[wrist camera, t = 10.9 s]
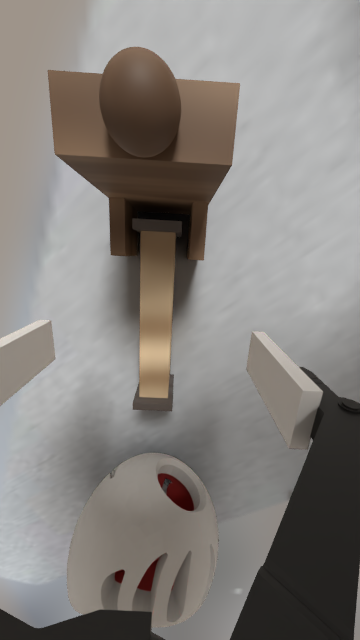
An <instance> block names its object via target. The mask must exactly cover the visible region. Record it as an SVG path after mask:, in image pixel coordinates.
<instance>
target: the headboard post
mask: <svg viewBox="0 0 360 640" xmlns="http://www.w3.org/2000/svg"><path fill="white" fill-rule="evenodd" d="M48 79H49V90H50V103H51V115H52V127H53V139H54V151H55V155H56V156H58V157H59V158H60V159H61V160H63V161H64V162H65V163H66V164H68V165H69V166H70V167H71V168H73V169H74V170H75V171H76V172H77V173H79V174H80V175H81V176H82V177H84V178H85V179H86V180H87V181H89V182H90V183H91V184H92V185H94V186H95V187H96V188H97V189H98V190H100V191H101V192H102V193H103V194H105V195H106V196H107V197H108V198H109V213H110V248H111V255H115V256H138V232H137V231H135V230H133V229H132V218H135V219H138V212H152V213H169V214H186V215H190V217H189V233H188V250H187V259H189V260H204V250H205V237H206V224H207V211H208V205H209V203H210V201H211V200H212V198H213V196H214V194H215V193H216V191H217V189H218V188H219V186H220V184H221V183H222V181H223V179H224V178H225V176H226V174H227V173H228V171H229V169H230V167H231V166H232V159H233V149H234V139H235V129H236V119H237V109H238V99H239V89H240V83H227V82H212V81H198V80H183V79H175V77H174V75H173V73H172V72H171V70H170V68H169V67H168V65H167V64H166V63H165V62H164V60H162V59H161V58H160V57H159V56H158V55H157V54H155V53H154V52H152V51H150V50H148V49H145V48H141V47H130V48H126V49H123V50H121V51H120V52H118V53H117V54H116V55H114V56H113V57H112V59H111V60H110V61H109V62H108V64H107V66H106V67H105V69H104V72H103V74H97V73H82V72H68V71H67V72H66V71H54V70H48Z"/></svg>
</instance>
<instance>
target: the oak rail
mask: <svg viewBox="0 0 360 640" xmlns="http://www.w3.org/2000/svg"><path fill="white" fill-rule="evenodd" d="M132 229H133V230H135V231H137V232H139V233H141V239H140V380H139V384H138V387H137V391H136V394H135V397H134V400H133V409H134V410H157V411H172V402H173V378H174V375H171V374H170V358H171V336H172V315H173V294H174V273H175V252H176V237H181V232H182V221H168V220H151V219H135V218H132Z"/></svg>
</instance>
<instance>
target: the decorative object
mask: <svg viewBox="0 0 360 640" xmlns="http://www.w3.org/2000/svg"><path fill="white" fill-rule="evenodd" d="M165 479H169V480H170V482H169V485H168V486H167V485H166V484H165V483H164V481H165ZM218 541H219V539H218V525H217V518H216V514H215V510H214V506H213V503H212V500H211V498H210V495H209V493H208V491H207V489H206V487H205V486H204V484H203V483H202V481H201V480H200V478H199V477H198V476H197V475H196V473H195V472H194V471H193V470H192V469H191V468H190V467H189V466H187V465H186V464H185V463H183V462H182V461H180V460H179V459H177V458H175V457H173V456H170V455H167V454H163V453H144V454H140V455H137V456H134V457H132V458H130V459H128V460H126V461H124V462H123V463H121V464H119V465H118V466H117V467H116V468H114V469H113V471H112V473H111V474H110V473H109V474H108V475H107V476H106V477H105V478H104V479H103V480H102V482H101V483H100V484H99V485H98V486H97V488H96V489H95V490H94V492H93V493H92V495H91V497H90V498H89V500H88V501H87V503H86V505H85V507H84V509H83V511H82V513H81V515H80V517H79V519H78V522H77V525H76V527H75V530H74V533H73V537H72V541H71V545H70V550H69V556H68V563H67V589H68V597H69V600H70V603H71V605H72V607H73V608H74V609H75V610H76V611H77V612H79V613H81V614H87V613H91V612H94V611H97V610H100V609H103V610H124V611H145V612H152V627H167V626H172V625H175V624H178V623H181V622H183V621H185V620H187V619H188V618H190V617H191V616H192V615H193V614H194V613H196V612H197V610H198V609H199V608H200V607H201V605H202V604H203V603H204V601H205V599H206V597H207V595H208V593H209V590H210V587H211V584H212V581H213V577H214V574H215V569H216V564H217V557H218Z"/></svg>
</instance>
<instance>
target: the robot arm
mask: <svg viewBox="0 0 360 640" xmlns="http://www.w3.org/2000/svg"><path fill="white" fill-rule="evenodd" d="M54 360H55V350H54V342H53V333H52V324H51V321H50V320H38V321H36V322H34V323H32V324H30V325H28V326H26V327H24V328H22V329H20V330H18V331H16V332H13V333H12V334H9V335H7V336H5V337H3V338H1V339H0V406H1V405H2V404H3V403H5V402H6V401H7V400H8V399H9V398H10V397H12V396H13V395H14V394H15V393H16V392H17V391H19V390H20V389H21V388H22V387H23V386H24V385H26V384H27V383H28V382H29V381H30V380H31V379H33V378H34V377H35V376H36V375H37V374H38V373H40V372H41V371H42V370H43V369H44V368H45V367H47V366H48V365H49V364H50V363H51V362H52V361H54ZM246 369H247V371H248V373H249V375H250V377H251V379H252V380H253V382H254V384H255V386H256V388H257V390H258V392H259V394H260V395H261V397H262V399H263V401H264V403H265V405H266V407H267V408H268V410H269V412H270V414H271V416H272V418H273V420H274V421H275V423H276V425H277V427H278V429H279V431H280V433H281V435H282V436H283V438H284V440H285V442H286V444H287V446H288V448H289V449H307V450H308V446H309V442H310V439H311V438H312V440H313V443H312V445H311V448H310V450H309V453H308V455H307V458H306V460H305V463H304V465H303V468H302V471H301V473H300V476H299V478H298V481H297V483H296V486H295V488H294V491H293V493H292V496H291V498H290V501H289V503H288V506H287V508H286V511H285V513H284V516H283V518H282V521H281V523H280V526H279V528H278V531H277V533H276V536H275V538H274V541H273V544H272V546H271V548H270V551H269V553H268V556H267V558H266V561H265V563H264V565H263V566H261V568H260V569H259V571H258V573H257V575H256V577H255V580H254V582H253V585H252V587H251V589H250V592H249V594H248V597H247V599H246V601H245V604H244V607H243V609H242V611H241V614H240V616H239V619H238V621H237V623H236V626H235V628H234V631H233V633H232V636H231V638H230V640H354V625H355V613H356V600H357V589H358V577H359V565H360V404H359V403H357V402H355V401H353V400H350V399H346V398H341V397H338V396H337V395H336V394H335V393H334V392H333V391H331V390H330V389H329V388H328V387H327V386H326V385H325V384H324V383H323V382H322V381H321V380H320V379H318V377H317V376H316V375H315V374H313V373H312V372H311V371H309V370H307V369H305V368H304V367H298V366H297V365H296V364H295V363H294V362H293V361H292V360H291V359H290V358H289V357H288V356H287V355H286V354H285V353H284V352H283V351H282V350H281V349H280V348H279V347H278V346H277V345H276V344H275V343H274V342H273V341H272V340H271V339H270V338H269V337H268V336H267V335H266V334H265V333H264V332H256V331H252V335H251V342H250V348H249V355H248V361H247V368H246ZM151 627H152V612H145V611H124V610H103V609H100V610H97V611H94V612H91V613H87V614H84V615H81V616H78V617H76V618H72V619H69V620H66V621H63V622H60V623H57V624H54V625H50V626H48V627H44V628H34V627H32V626H30V625H28V624H26V623H24V622H23V621H21V620H19V619H17V618H15V617H14V616H12V615H10V614H8V613H7V612H5V611H3V610H1V609H0V640H165V639H163V638H162V637H160V636H158V635H156V634H154V633H152V632H151Z"/></svg>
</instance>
